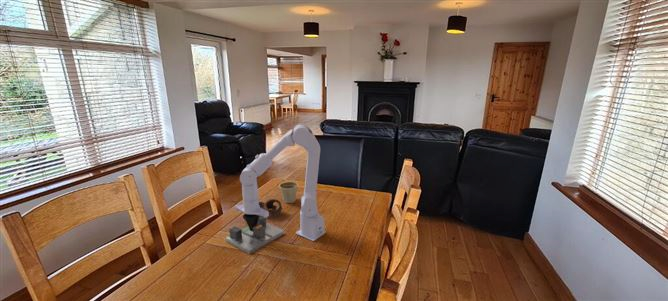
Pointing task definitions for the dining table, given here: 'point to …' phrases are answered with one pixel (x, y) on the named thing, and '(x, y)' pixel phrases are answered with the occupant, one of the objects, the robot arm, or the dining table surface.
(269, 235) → the panel
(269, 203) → the pottery mug
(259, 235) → the breaker
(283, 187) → the flower pot
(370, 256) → the dining table surface
